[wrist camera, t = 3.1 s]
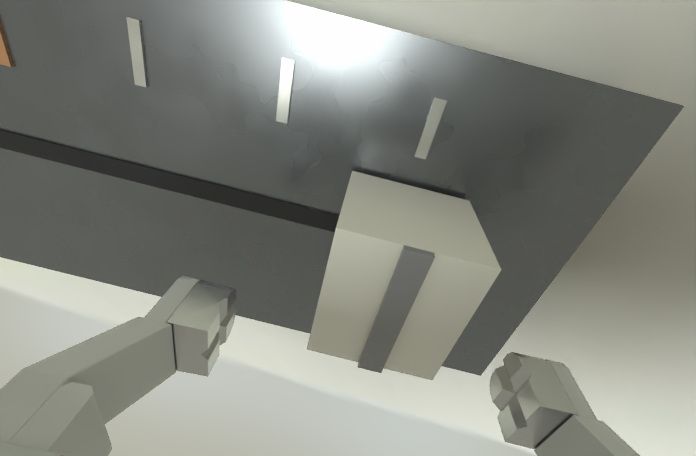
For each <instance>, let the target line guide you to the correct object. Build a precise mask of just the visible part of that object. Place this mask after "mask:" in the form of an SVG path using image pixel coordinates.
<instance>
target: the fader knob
mask: <svg viewBox="0 0 696 456" xmlns="http://www.w3.org/2000/svg"><path fill="white" fill-rule="evenodd" d="M500 271H501V268H500V266H499V263H498V261H497V259H496V257H495V255H494V253H493V250H492V248H491V246H490V244H489V242H488V240H487V237H486V235H485V233H484V231H483V229H482V227H481V224H480V222H479V220H478V218H477V216H476V214H475V212H474V209H473V207H472V205H471V203H470V201H469V200H465V199H461V198H457V197H453V196H449V195H445V194H441V193H437V192H433V191H430V190H426V189H422V188H418V187H414V186H410V185H406V184H402V183H398V182H395V181H391V180H387V179H383V178H379V177H375V176H371V175H367V174H363V173H359V172H356V171H352V173H351V177H350V180H349V184H348V187H347V191H346V194H345V198H344V201H343V205H342V208H341V212H340V215H339V219H338V222H337V226H336V230H335V234H334V238H333V242H332V246H331V250H330V254H329V259H328V263H327V267H326V271H325V275H324V279H323V284H322V288H321V292H320V296H319V300H318V304H317V309H316V313H315V317H314V321H313V325H312V329H311V333H310V338H309V342H308V346H307V350H312V351H316V352H320V353H324V354H328V355H332V356H336V357H340V358H344V359H348V360H352V361H356V362H358V367H359V368H363V369H367V370H371V371H375V372H379V373H381V372H382V370H383V368H385V369H389V370H393V371H397V372H401V373H405V374H409V375H413V376H417V377H421V378H425V379H430V380H433V378H434V377H435V375H436V374H437V372H438V370H439V369H440V367H441V366H442V364H443V362H444V361H445V359H446V358H447V356H448V354H449V353H450V351H451V350H452V348H453V346H454V345H455V343H456V342H457V340H458V338H459V337H460V335H461V334H462V332H463V330H464V329H465V327H466V326H467V324H468V322H469V321H470V319H471V318H472V316H473V314H474V313H475V311H476V310H477V308H478V306H479V305H480V303H481V302H482V300H483V298H484V297H485V295H486V294H487V292H488V290H489V289H490V287H491V286H492V284H493V282H494V281H495V279H496V278H497V276H498V274H499V273H500Z"/></svg>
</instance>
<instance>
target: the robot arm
mask: <svg viewBox="0 0 696 456" xmlns="http://www.w3.org/2000/svg"><path fill="white" fill-rule="evenodd" d="M235 300H236V289H235V288H231V287H227V286H223V285H219V284H215V283H212V282H208V281H204V280H199V279H195V278H191V277H187V276H182V277H180V278H178V279H177V280H176V281H175V282H174V284H173V285H172V286H171V287H170V288H169V289H168V291H167V292H166V293H165V294H164V295H163V296H162V298H161V299H160V300H159V301H158V302H157V304H156V305H155V306H154V307H153V308H152V309H151V311H150V312H149V313H148V314H147V315H146V316H145V318H142V317H137V318H135V319H133V320H130V321H128V322H126V323H124V324H121V325H119V326H117V327H115V328H113V329H111V330H108V331H106V332H104V333H101V334H99V335H97V336H95V337H93V338H90V339H88V340H86V341H84V342H82V343H79V344H77V345H75V346H73V347H70V348H68V349H66V350H64V351H62V352H59V353H57V354H55V355H53V356H50V357H48V358H46V359H44V360H42V361H39V362H37V363H35V364H33V365H31V366H28V367H26V368H24V369H22V370H21V371H20V372H19V373H18V374H17V375H16V376H14V377H13V378H12V379H11V380H10V381H9V382H8V383H7V384H6V385H5V386H4V387H2V388H1V389H0V456H108V455H109V453H110V452H111V450H112V447H111V442H110V439H109V436H108V433H107V430H106V427H105V424H106V423H107V422H108V421H110V420H111V419H113V418H114V417H115V416H117V415H118V414H119V413H121V412H122V411H124V410H125V409H126V408H127V407H129V406H130V405H131V404H133V403H135V402H136V401H137V400H139V399H140V398H141V397H143V396H144V395H145V394H147V393H148V392H150V391H151V390H152V389H153V388H155V387H156V386H158V385H159V384H161V383H162V382H163V381H165V380H166V379H167V378H169V377H170V376H171V375H173V374H174V373H175V372H176V370H177V371H182V372H187V373H193V374H198V375H203V376H208V375H209V373H210V371H211V370H212V368H213V366H214V364H215V362H216V360H217V358H218V356H219V346H220V345H221V344H223V343H225V342H226V340H227V338H228V336H229V334H230V332H231V329H232V326H233V324H234V319H235V312H236V309H235V308H234V306H233V303H234V302H235ZM503 361H504V366H502V367H499V368H497V369H496V370H495V371H494V373H493V374H492V376H491V380H490V394H491V398H492V401H493V403H494V404H495V405H496V406H497V407H498V408H499V410H500V412H499V414H498V421H499V424H500V427H501V430H502V434H503V437H504V440H505V442H508V443H512V444H516V445H520V446H524V447H528V448H532V449H535V450H534V451H535V453H536V454H537V456H640V455H639V454H638V453H636V452H635V451H634V450H633V449H632V448H631V447H630V446H629V445H628V444H627V443H626V442H625V441H624V440H622V439H621V438H620V437H619V436H618V435H617V434H616V433H615V432H614V431H613V430H612V429H611V428H610V427H608V426H607V425H606V424H605V423H604V422H603V421H599V420H597V418H596V416H595V415H594V413H593V411H592V409H591V408H590V406H589V404H588V402H587V401H586V399H585V397H584V395H583V394H582V392H581V390H580V388H579V387H578V385H577V383H576V381H575V380H574V378H573V376H572V374H571V372H570V371H569V369H568V368H567V367H566V366H565V365H564V364H563V363H559V362H554V361H550V360H544V359H541V358H536V357H532V356H527V355H523V354H518V353H513V352H511V353H509V354H507V355H506V357H505V358H504V359H503Z"/></svg>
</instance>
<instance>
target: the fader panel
mask: <svg viewBox="0 0 696 456" xmlns="http://www.w3.org/2000/svg"><path fill="white" fill-rule="evenodd" d="M683 107H684V106H682V105H678V104H675V103H671V102H667V101H663V100H660V99H656V98H652V97H648V96H645V95H641V94H637V93H633V92H629V91H626V90H622V89H618V88H614V87H611V86H607V85H603V84H599V83H596V82H592V81H588V80H584V79H580V78H577V77H573V76H569V75H565V74H562V73H558V72H554V71H550V70H547V69H543V68H539V67H535V66H531V65H528V64H524V63H520V62H516V61H513V60H509V59H505V58H501V57H498V56H494V55H490V54H486V53H482V52H479V51H475V50H471V49H467V48H464V47H460V46H456V45H452V44H449V43H445V42H441V41H437V40H433V39H430V38H426V37H422V36H418V35H415V34H411V33H407V32H403V31H400V30H396V29H392V28H388V27H384V26H381V25H377V24H373V23H369V22H366V21H362V20H358V19H354V18H351V17H347V16H343V15H339V14H335V13H332V12H328V11H324V10H320V9H317V8H313V7H309V6H305V5H302V4H298V3H294V2H290V1H286V0H0V257H2V258H6V259H11V260H15V261H19V262H23V263H27V264H31V265H35V266H39V267H43V268H47V269H51V270H55V271H59V272H63V273H67V274H71V275H75V276H79V277H83V278H88V279H92V280H96V281H100V282H104V283H108V284H112V285H116V286H120V287H124V288H128V289H132V290H136V291H140V292H144V293H148V294H152V295H156V296H161V297H162V296H163V295H164V294H165V293H166V292H167V291H168V289H169V288H170V287H171V286H172V285H173V284H174V282H175V281H176V280H177V279H178V278H180V277H182V276H187V277H191V278H195V279H199V280H204V281H208V282H212V283H215V284H219V285H223V286H227V287H231V288H235V289H236V300H235V302H234V303H233V306H234V308H235V309H236V312H235V315H238V316H242V317H246V318H250V319H254V320H258V321H262V322H266V323H270V324H274V325H278V326H282V327H286V328H290V329H294V330H298V331H302V332H307V333H311V329H312V325H313V321H314V317H315V313H316V309H317V304H318V300H319V296H320V292H321V288H322V284H323V279H324V275H325V271H326V267H327V263H328V259H329V254H330V250H331V246H332V242H333V238H334V234H335V230H336V226H337V222H338V219H339V215H340V212H341V208H342V205H343V201H344V198H345V194H346V191H347V187H348V184H349V180H350V177H351V173H352V171H356V172H359V173H363V174H367V175H371V176H375V177H379V178H383V179H387V180H391V181H395V182H398V183H402V184H406V185H410V186H414V187H418V188H422V189H426V190H430V191H433V192H437V193H441V194H445V195H449V196H453V197H457V198H461V199H465V200H469V201H470V203H471V205H472V207H473V209H474V212H475V214H476V216H477V218H478V220H479V222H480V224H481V227H482V229H483V231H484V233H485V235H486V237H487V240H488V242H489V244H490V246H491V248H492V250H493V253H494V255H495V257H496V259H497V261H498V263H499V266H500V268H501V271H500V273H499V274H498V276H497V278H496V279H495V281H494V282H493V284H492V286H491V287H490V289H489V290H488V292H487V294H486V295H485V297H484V298H483V300H482V302H481V303H480V305H479V306H478V308H477V310H476V311H475V313H474V314H473V316H472V318H471V319H470V321H469V322H468V324H467V326H466V327H465V329H464V330H463V332H462V334H461V335H460V337H459V338H458V340H457V342H456V343H455V345H454V346H453V348H452V350H451V351H450V353H449V354H448V356H447V358H446V359H445V361H444V362H443V364H442V366H444V367H448V368H452V369H457V370H461V371H465V372H469V373H473V374H477V375H481V374H482V373H483V372H484V370H485V369H486V368H487V366H488V365H489V364H490V362H491V361H492V360H493V358H494V357H495V356H496V354H497V353H498V352H499V351H500V349H501V348H502V347H503V345H504V344H505V343H506V341H507V340H508V339H509V337H510V336H511V335H512V333H513V332H514V331H515V329H516V328H517V327H518V325H519V324H520V323H521V321H522V320H523V319H524V317H525V316H526V315H527V313H528V312H529V311H530V309H531V308H532V307H533V305H534V304H535V303H536V302H537V300H538V299H539V298H540V296H541V295H542V294H543V292H544V291H545V290H546V288H547V287H548V286H549V284H550V283H551V282H552V280H553V279H554V278H555V276H556V275H557V274H558V272H559V271H560V270H561V268H562V267H563V266H564V264H565V263H566V262H567V260H568V259H569V258H570V257H571V255H572V254H573V253H574V251H575V250H576V249H577V247H578V246H579V245H580V243H581V242H582V241H583V239H584V238H585V237H586V235H587V234H588V233H589V231H590V230H591V229H592V227H593V226H594V225H595V223H596V222H597V221H598V219H599V218H600V217H601V215H602V214H603V213H604V211H605V210H606V209H607V208H608V206H609V205H610V204H611V202H612V201H613V200H614V198H615V197H616V196H617V194H618V193H619V192H620V190H621V189H622V188H623V186H624V185H625V184H626V182H627V181H628V180H629V178H630V177H631V176H632V174H633V173H634V172H635V170H636V169H637V168H638V166H639V165H640V164H641V163H642V161H643V160H644V159H645V157H646V156H647V155H648V153H649V152H650V151H651V149H652V148H653V147H654V145H655V144H656V143H657V141H658V140H659V139H660V137H661V136H662V135H663V133H664V132H665V131H666V129H667V128H668V127H669V125H670V124H671V123H672V121H673V120H674V119H675V117H676V116H677V115H678V114H679V112H680V111H681V110H682V108H683Z"/></svg>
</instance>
